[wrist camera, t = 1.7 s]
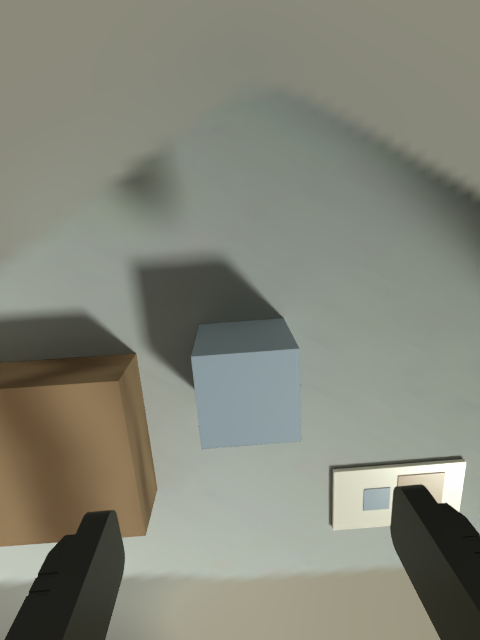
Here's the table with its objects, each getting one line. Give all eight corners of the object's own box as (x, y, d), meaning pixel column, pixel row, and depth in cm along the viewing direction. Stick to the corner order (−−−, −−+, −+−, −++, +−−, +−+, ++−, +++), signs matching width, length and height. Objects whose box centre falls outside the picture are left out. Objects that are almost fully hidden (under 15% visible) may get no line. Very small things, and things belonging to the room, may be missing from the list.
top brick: (283, 317, 21) (299, 348, 16) (285, 393, 23) (301, 441, 18) (199, 323, 21) (190, 356, 16) (207, 398, 23) (201, 449, 18)
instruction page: (463, 458, 24) (466, 462, 24) (455, 516, 26) (458, 521, 26) (332, 469, 24) (334, 473, 24) (332, 526, 26) (333, 531, 25)
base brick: (137, 351, 22) (118, 380, 18) (158, 485, 25) (145, 535, 21) (-12, 361, 22) (-62, 393, 18) (27, 495, 25) (-10, 547, 21)
